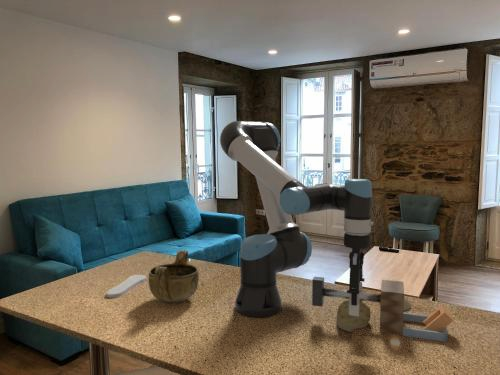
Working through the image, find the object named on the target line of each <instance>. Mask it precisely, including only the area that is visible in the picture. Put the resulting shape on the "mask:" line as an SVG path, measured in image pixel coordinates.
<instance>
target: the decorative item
mask: <svg viewBox="0 0 500 375" xmlns="http://www.w3.org/2000/svg"><path fill="white" fill-rule="evenodd" d="M371 313H372V312H371V308H370V306H368V305H367V304H366V303H364V301H362V302H361V301H359V316H351V315H349V299H344V301H342V302H341V303H340V304H339V305H338V308H337V312H336V322H335V323H336V325H337V327H338V328H340V329H341V330H343V331H345V332H347V333H353V332H354V330H355V329H357V330H358V329H363V328H366V327H367V326H368V325H369V324H370V323H369V321H370V319H371Z"/></svg>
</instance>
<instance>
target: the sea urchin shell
mask: <svg viewBox="0 0 500 375" xmlns="http://www.w3.org/2000/svg"><path fill="white" fill-rule="evenodd" d="M378 304H379V305H381V303H378ZM410 308H411V303H410V301H409V299H408V298H407V297H406V296H405V295H404V311H408V310H410Z"/></svg>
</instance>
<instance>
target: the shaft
mask: <svg viewBox="0 0 500 375" xmlns="http://www.w3.org/2000/svg"><path fill="white" fill-rule="evenodd" d="M311 282H312V284H311V285H312V286H311V287H312V288H311V289H312V290H311V291H312V292H311V294H312V295H311V297H312V298H311V299H312V301H311V306H314V307H323V306H324V304H325V297H328V298H336V299H343V300H349V293H347V290H344V289H336V288H329V287H327V288H325V277H321V276H313V277H312V281H311ZM359 293H360V299H359V300H360V301H362V302H370V303H378V304H379V303H381V293H371V292H363V291H362V292H359Z"/></svg>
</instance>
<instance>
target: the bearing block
mask: <svg viewBox="0 0 500 375" xmlns="http://www.w3.org/2000/svg"><path fill="white" fill-rule="evenodd" d="M380 286H381V288H380V289H381V290H380V294H381V305H380V304H379V305H380V309H379V310H380V311H379V312H380V313H379V332H381V333H385V334H387V333H388V334H393V335H394V334H395V335H400V336H401V335H402V336H403V327H404V321H403V315H404V313H405V312H404V311H405V310H404V296H405V285H404V281H398V280H389V279H381V284H380Z"/></svg>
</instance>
